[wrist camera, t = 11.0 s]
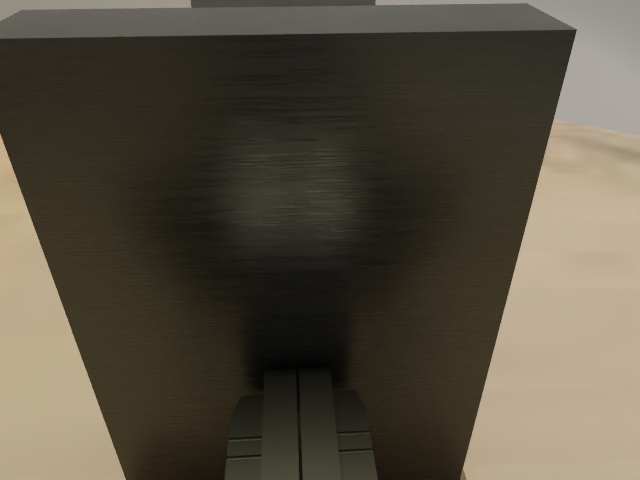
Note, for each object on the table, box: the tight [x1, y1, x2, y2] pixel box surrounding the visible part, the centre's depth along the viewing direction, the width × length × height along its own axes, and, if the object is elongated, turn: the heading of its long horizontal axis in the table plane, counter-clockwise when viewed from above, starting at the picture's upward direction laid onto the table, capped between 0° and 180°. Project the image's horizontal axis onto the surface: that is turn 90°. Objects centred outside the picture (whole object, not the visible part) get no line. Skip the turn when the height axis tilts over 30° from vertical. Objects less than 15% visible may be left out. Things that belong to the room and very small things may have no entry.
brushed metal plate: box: [0, 3, 576, 480], centre depth 15 cm, size 7×9×14 cm
